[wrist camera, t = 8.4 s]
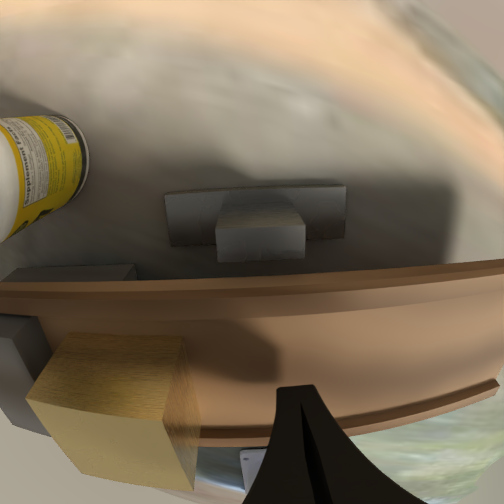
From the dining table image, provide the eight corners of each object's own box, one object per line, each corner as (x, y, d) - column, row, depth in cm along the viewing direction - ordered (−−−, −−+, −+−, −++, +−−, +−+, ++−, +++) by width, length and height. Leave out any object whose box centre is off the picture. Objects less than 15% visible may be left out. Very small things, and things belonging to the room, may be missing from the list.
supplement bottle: (26, 208, 14) (-84, 274, 6) (18, 123, 12) (-105, 147, 4) (96, 203, 14) (-17, 283, 6) (91, 107, 12) (-42, 110, 4)
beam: (461, 350, 18) (504, 409, 12) (58, 370, 18) (21, 435, 12) (495, 233, 14) (566, 279, 9) (13, 255, 14) (-54, 309, 9)
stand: (323, 392, 19) (335, 439, 15) (202, 399, 19) (196, 448, 15) (342, 184, 14) (375, 206, 10) (167, 192, 14) (141, 216, 10)
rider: (201, 418, 13) (193, 491, 9) (105, 410, 13) (81, 473, 9) (182, 335, 11) (161, 420, 7) (69, 331, 11) (25, 398, 7)
